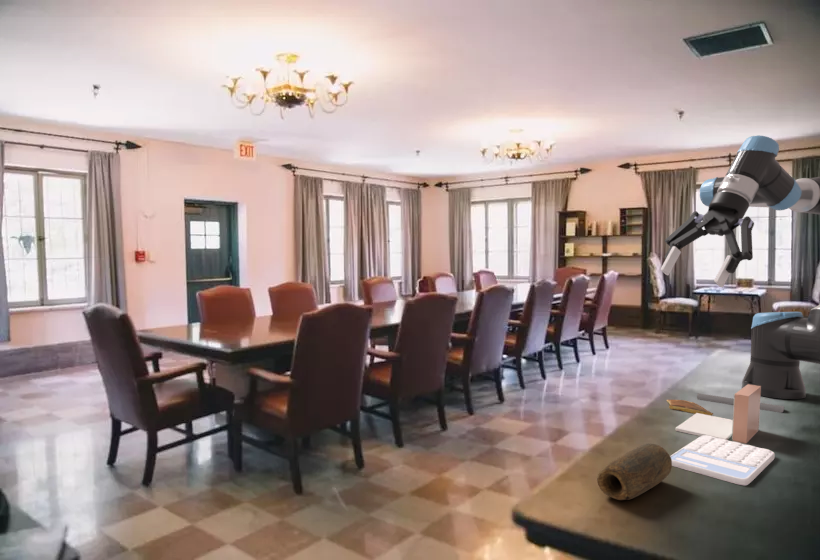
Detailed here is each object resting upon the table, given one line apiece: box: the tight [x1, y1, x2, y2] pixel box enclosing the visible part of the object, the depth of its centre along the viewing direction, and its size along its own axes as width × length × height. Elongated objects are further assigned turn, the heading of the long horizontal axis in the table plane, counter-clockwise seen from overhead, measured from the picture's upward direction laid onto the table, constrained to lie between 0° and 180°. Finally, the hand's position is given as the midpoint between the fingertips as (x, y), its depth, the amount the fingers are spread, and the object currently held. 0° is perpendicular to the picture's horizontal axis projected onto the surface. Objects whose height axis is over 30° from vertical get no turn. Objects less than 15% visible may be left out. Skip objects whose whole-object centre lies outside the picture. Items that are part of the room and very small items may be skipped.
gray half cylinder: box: [696, 393, 785, 414], centre depth 143 cm, size 4×20×2 cm, turn 53°
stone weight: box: [596, 443, 673, 501], centre depth 90 cm, size 15×7×7 cm, turn 134°
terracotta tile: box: [731, 384, 761, 445], centre depth 118 cm, size 12×3×10 cm, turn 137°
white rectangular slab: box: [674, 413, 733, 441], centre depth 123 cm, size 16×10×1 cm, turn 137°
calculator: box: [670, 435, 776, 486], centre depth 104 cm, size 13×20×2 cm, turn 134°
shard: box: [666, 399, 714, 416], centre depth 136 cm, size 11×8×2 cm
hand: (689, 278), depth 125 cm, fingers open, 13 cm apart
